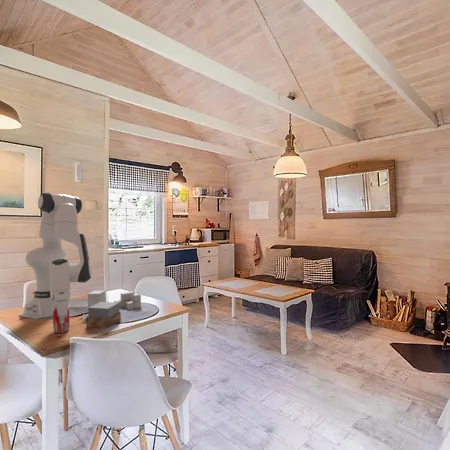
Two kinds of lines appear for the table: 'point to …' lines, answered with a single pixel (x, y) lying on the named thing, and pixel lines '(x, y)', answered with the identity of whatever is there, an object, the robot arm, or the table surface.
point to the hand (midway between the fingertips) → (61, 320)
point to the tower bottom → (103, 321)
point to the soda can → (56, 322)
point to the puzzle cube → (129, 300)
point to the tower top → (103, 310)
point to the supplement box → (96, 297)
